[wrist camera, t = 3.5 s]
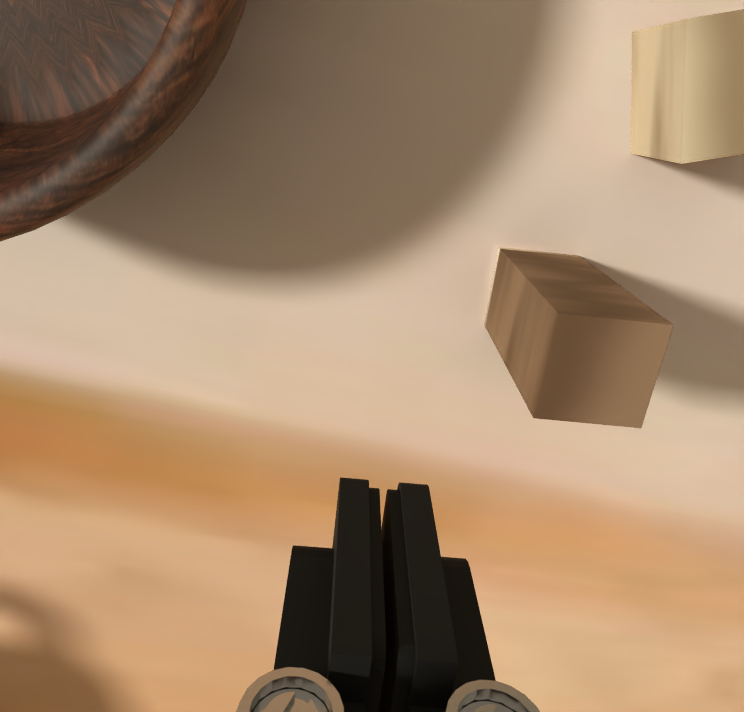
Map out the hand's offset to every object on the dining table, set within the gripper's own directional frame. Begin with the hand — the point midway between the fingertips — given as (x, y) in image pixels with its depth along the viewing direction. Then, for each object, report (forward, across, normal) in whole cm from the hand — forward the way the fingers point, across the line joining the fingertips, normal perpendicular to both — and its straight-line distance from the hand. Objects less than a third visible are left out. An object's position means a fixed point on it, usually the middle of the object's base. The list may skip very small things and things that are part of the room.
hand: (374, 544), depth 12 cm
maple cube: (+20, -13, -10) cm, 26 cm away
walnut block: (+20, -8, 0) cm, 22 cm away
